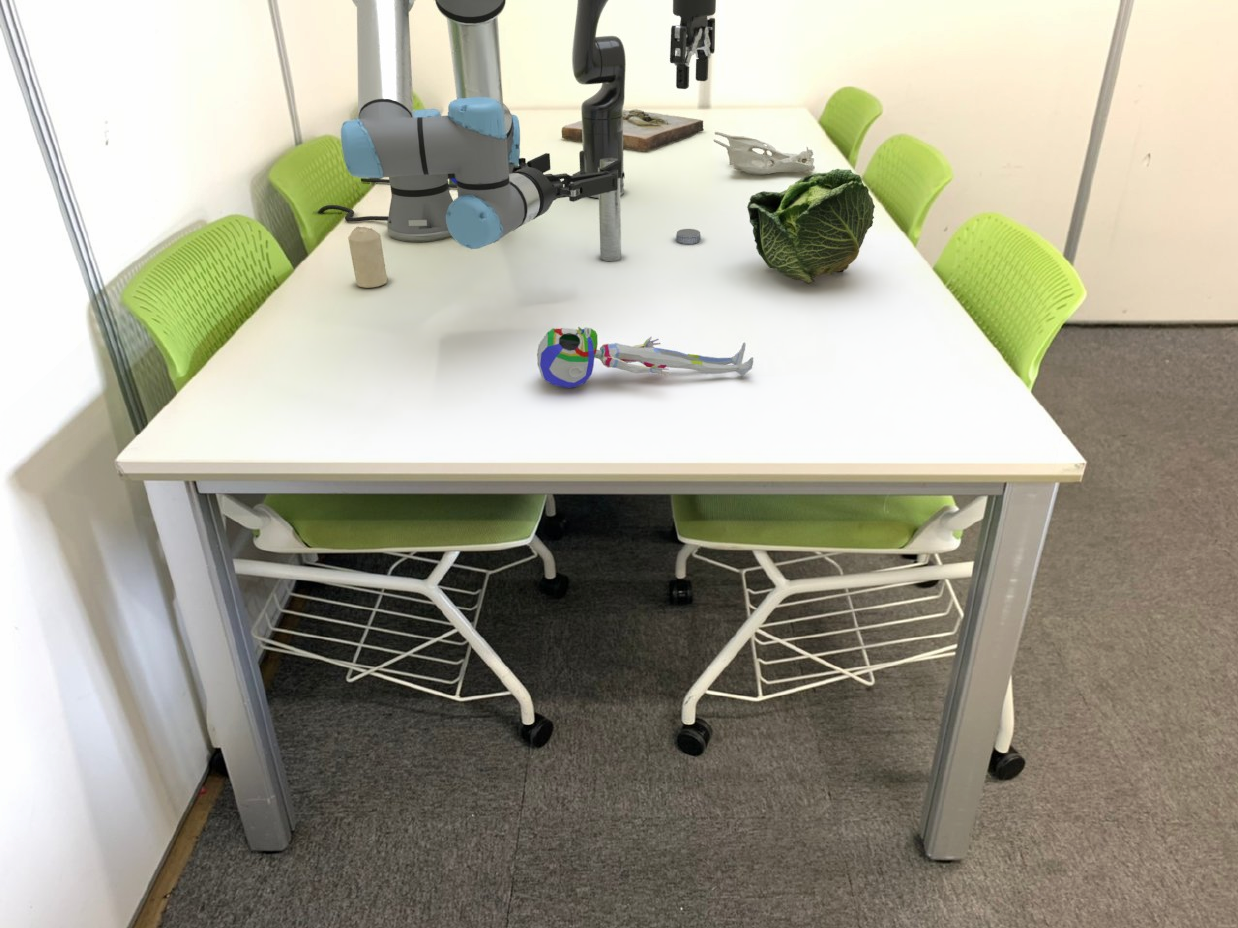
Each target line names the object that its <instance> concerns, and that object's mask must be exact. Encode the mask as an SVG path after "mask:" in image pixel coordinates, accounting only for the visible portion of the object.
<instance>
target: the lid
mask: <svg viewBox="0 0 1238 928" xmlns="http://www.w3.org/2000/svg"><path fill="white" fill-rule="evenodd" d="M675 236H676V237H675V240H676V242H677V243H680V244H683V245H694V244H695V245H696V244H697V243H700V242H701V231H699V230H698V229H695V228H683V229H678V230H677V231H676V235H675Z"/></svg>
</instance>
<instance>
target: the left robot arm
mask: <svg viewBox="0 0 1238 928" xmlns="http://www.w3.org/2000/svg"><path fill="white" fill-rule="evenodd" d="M351 1H352V3H353V4H354V6H355V7H356V44H357V45H356V46H357V47H356V48H357V49H356V52H357V53H356V54H357V58H356V59H357V117H358V118H354V119H349V120H345V121H343V123H342V125H341V128H340V141H341V151H342V155H343V160H344V163H345V167H346V170H347V171H348V173H349V174H350V175H351V176H352V177H355V178H367V179H384V178H388V179H389V181H390V183H389V187H390V194H391V195H390V196H391V198H390V204H389V209H388V215H387V216H384V215H366V216H357V217H353V216H354V215H355V211H354V210H353V209H352V208H348V207H346V206H342V205H338V204H328V205H324V206H321V208H319V209H318V210H317V214H321V215H322V214H323V213H324V212H326V211H329V210H338V211H341V212H344V213H346V214H345V216H344V220H345V221H347V222H350V223H352V222H353V223H358V222H366V221H384V222H385V221H386V227H387V234H388V236H389V237H391V238H392V239H395V240H397V241H402V242H411V243H412V242H413V243H421V242H422V243H423V242H434V241H440V240H444V239H448V238H451V237H452V238H453V240H454V241H455V242H456V243H458V244H459V245H460V246H463V247H465V248H467V249H470V250H477V249H481V248H484V247H486V246H488V245H492V244H493V243H494V244H495V243H497V242H498V241H500V240H501V238H504V237H505V236H506V235H508V234H509V233H511V232H515V231H516V230H517V229H518V228H521V227H522V226H524V225H525V224H528V223H529V222H531V221H533V220H535V219H537V218H538V217H540V216H542V215H544V214H545V213H547V212H548V211H549V209H550V208H551V206H552V204H553V202H554V201H556V200H557V199H563V198H568V199H569V200H568V201H569V202H573V203H574V202H576V201H579V200H580V199H584V198H588V197H589V196H593V195H598V194H602V193H606V192H607V193H609V192H610V191H615V190H618V179H619V178H621V161H619V160H617V161H615V162H613V163H611V164H609V165H607V166H606V167H604V168H602V169H600V172H595V173H588V174H581V175H573V174H572V175H570V174H568V173H566V172H564V173H558V174H554V173H547V172H549V171H550V170H551V153H548V152H545V153H543V154H540V155H539V156H537V157H534V158H532V159H530V160H528V161H527V160H526V158H525V157H521V128H520V127H521V126H520V119H519V117H518V116H517V115H515V114H513V113H511V111H510V109H509V107H508V105H506V104H505V103H504V97H503V96H504V95H503V79H502V64H501V62H502V61H501V49H500V48H501V47H500V33H499V32H500V31H499V16H500V15H501V14H502V12H503V11H504V9H505V7H506V2H507V0H434V2H435V6H436V8H437V10H438V11H439V13H440V14H441V15H442V16H443V17H445V19H446V24H447V25H446V26H447V31H448V32H447V33H448V39H449V49H450V56H451V64H452V71H453V79H454V80H453V81H454V87H455V95H456V99H453V100H451V101H450V102H449V103H448V106H447V108H448V109H447V111H448V112H447V115H442V113H441V112H440V110H439V109H436V108H421V109H416V110H414V95H413V75H412V74H413V73H412V53H411V52H412V51H411V32H410V29H411V28H410V12H411V11H412V8H413V7H414V5H415V0H351ZM455 178H456V183H457V184H456V185H457V188H456V191H457V197H456V198H454V199H453V197H452V195H451V192H450V188H449V185H448V184H449V179H455ZM562 180H564V185H563V184H562ZM589 198H590V197H589Z"/></svg>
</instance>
